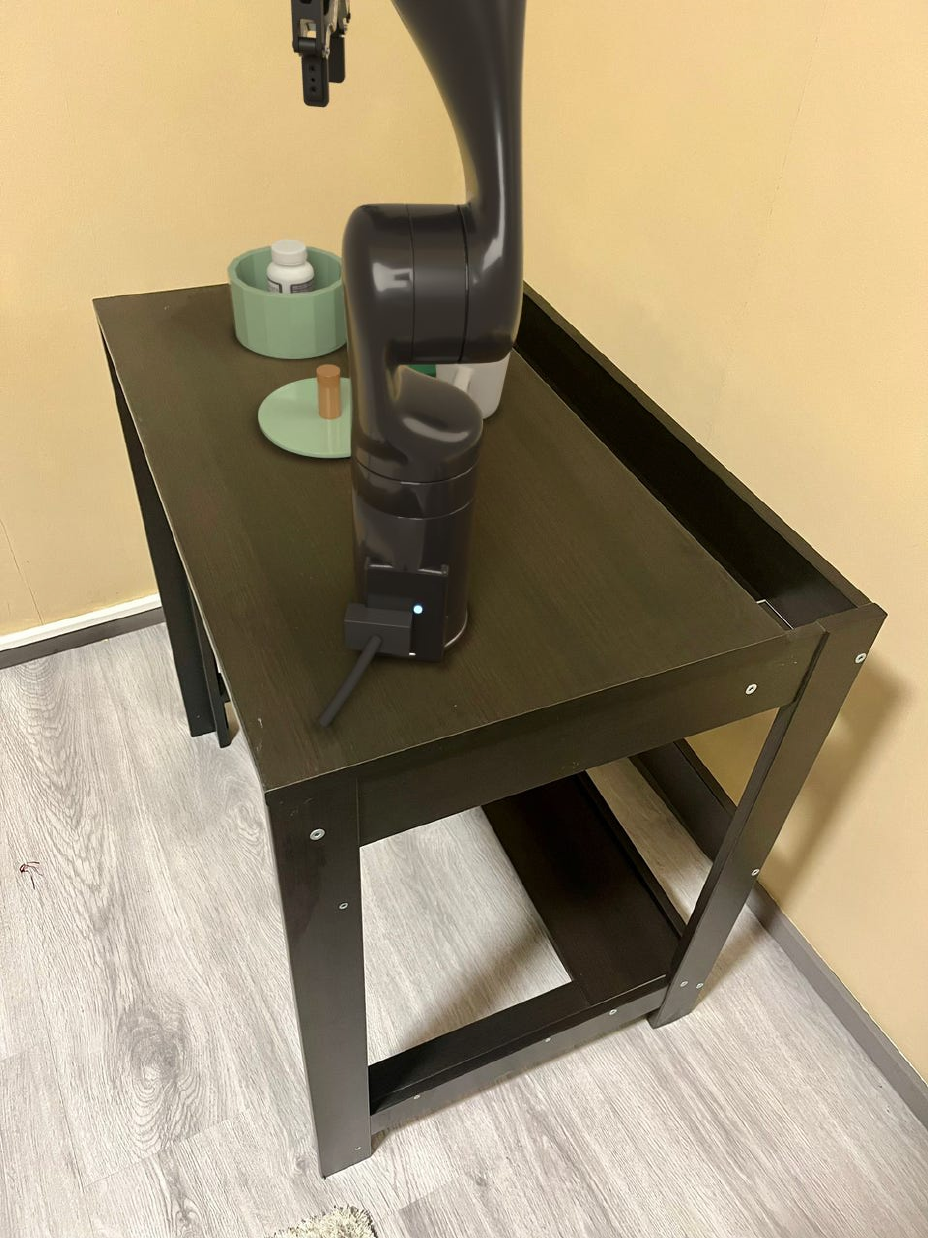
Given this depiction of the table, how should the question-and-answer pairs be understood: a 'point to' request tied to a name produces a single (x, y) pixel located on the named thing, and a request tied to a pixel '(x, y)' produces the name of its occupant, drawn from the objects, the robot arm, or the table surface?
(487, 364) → the cup
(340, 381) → the lid
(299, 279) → the pill bottle
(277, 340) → the pot
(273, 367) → the table surface
